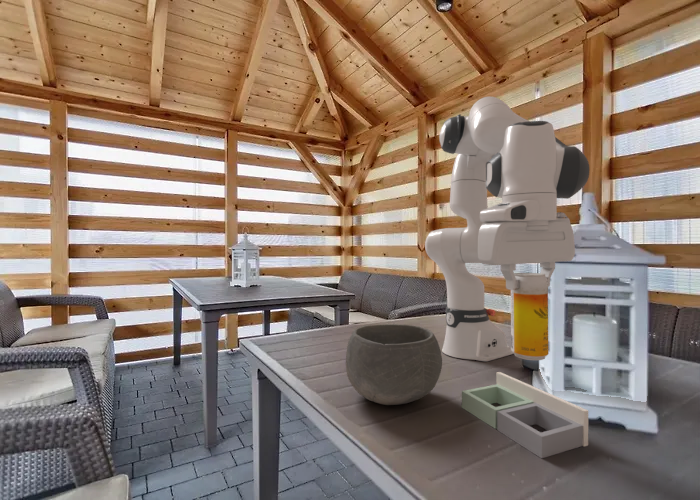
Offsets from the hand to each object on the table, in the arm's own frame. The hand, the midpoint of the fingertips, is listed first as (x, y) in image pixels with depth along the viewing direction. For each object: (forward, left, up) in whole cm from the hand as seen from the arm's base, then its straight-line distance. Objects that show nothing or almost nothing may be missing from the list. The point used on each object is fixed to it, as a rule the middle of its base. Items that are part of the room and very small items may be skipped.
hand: (528, 288), depth 67 cm
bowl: (+16, -21, -27) cm, 38 cm away
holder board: (0, -2, -26) cm, 26 cm away
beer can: (0, 0, -13) cm, 13 cm away
